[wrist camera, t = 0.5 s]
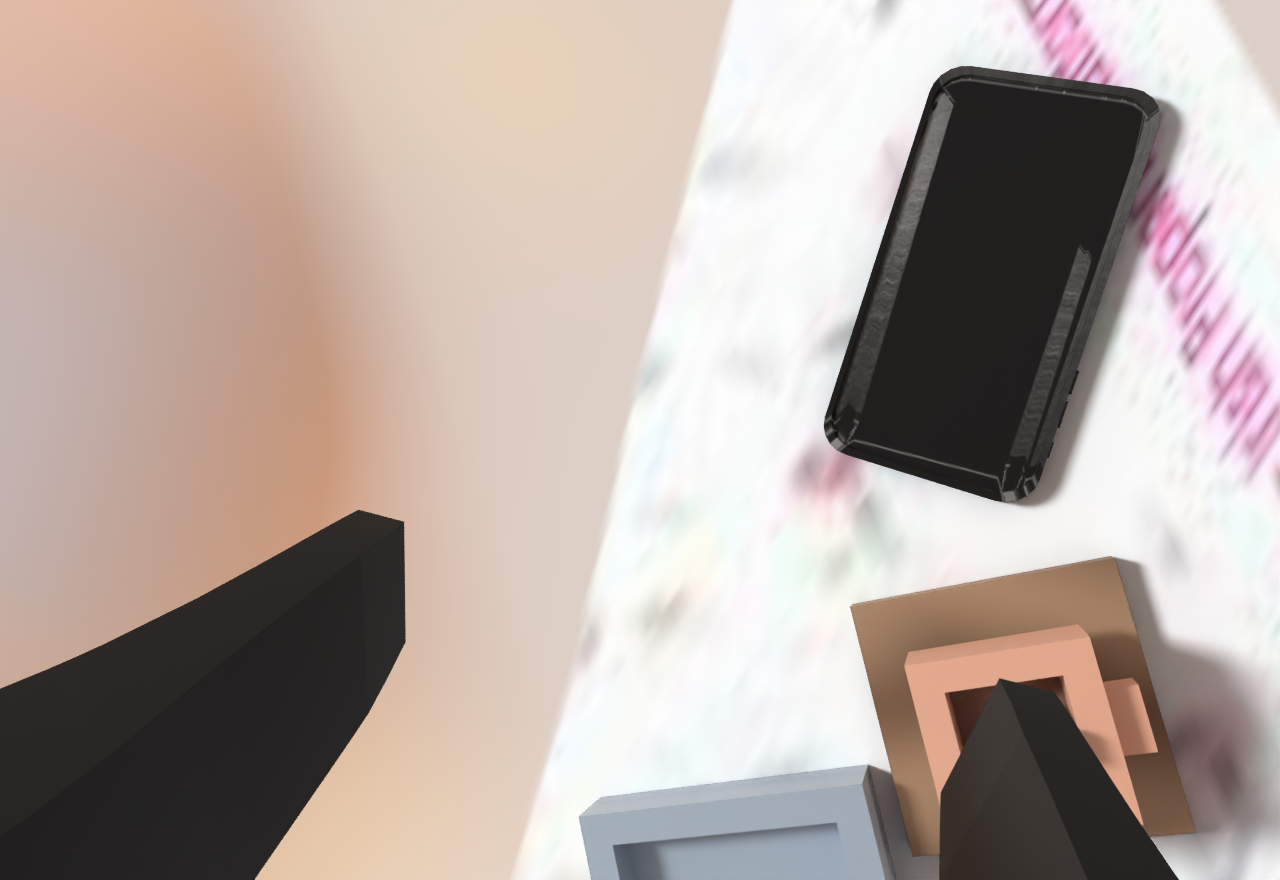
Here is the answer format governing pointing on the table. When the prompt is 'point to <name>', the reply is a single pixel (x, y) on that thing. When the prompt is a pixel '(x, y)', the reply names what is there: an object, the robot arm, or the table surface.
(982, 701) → the grey stepped cylinder
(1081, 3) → the table surface
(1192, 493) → the table surface
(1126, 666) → the base
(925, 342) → the phone
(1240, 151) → the table surface
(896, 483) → the table surface
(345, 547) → the robot arm
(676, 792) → the tray
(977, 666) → the ring
